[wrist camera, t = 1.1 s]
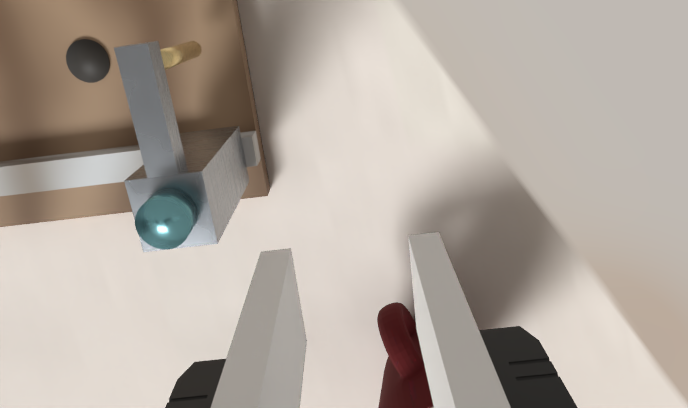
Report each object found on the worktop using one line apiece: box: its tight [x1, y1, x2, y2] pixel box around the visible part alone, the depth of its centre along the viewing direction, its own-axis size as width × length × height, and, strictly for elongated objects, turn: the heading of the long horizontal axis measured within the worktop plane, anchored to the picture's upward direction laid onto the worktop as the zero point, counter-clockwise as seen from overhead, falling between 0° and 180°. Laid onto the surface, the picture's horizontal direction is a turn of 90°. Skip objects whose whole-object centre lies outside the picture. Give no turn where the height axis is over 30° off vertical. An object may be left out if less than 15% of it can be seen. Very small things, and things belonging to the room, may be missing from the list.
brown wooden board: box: [0, 0, 270, 227], centre depth 30 cm, size 26×12×3 cm, turn 97°
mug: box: [377, 302, 434, 408], centre depth 32 cm, size 11×8×10 cm
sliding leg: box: [114, 41, 249, 252], centre depth 24 cm, size 3×8×9 cm, turn 7°
